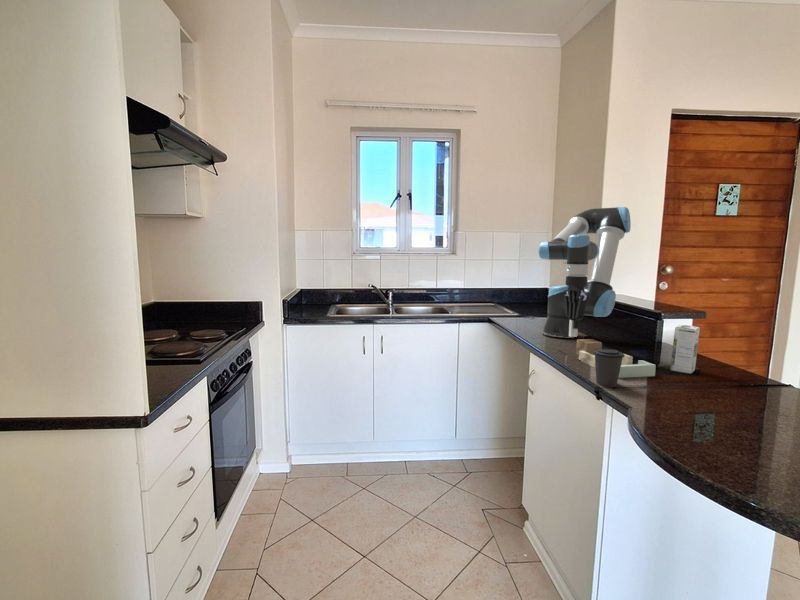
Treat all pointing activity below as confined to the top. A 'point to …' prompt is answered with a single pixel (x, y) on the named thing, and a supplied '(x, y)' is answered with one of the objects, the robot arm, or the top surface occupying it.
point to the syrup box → (685, 348)
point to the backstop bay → (637, 370)
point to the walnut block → (588, 345)
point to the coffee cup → (607, 366)
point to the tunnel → (590, 359)
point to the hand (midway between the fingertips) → (572, 336)
